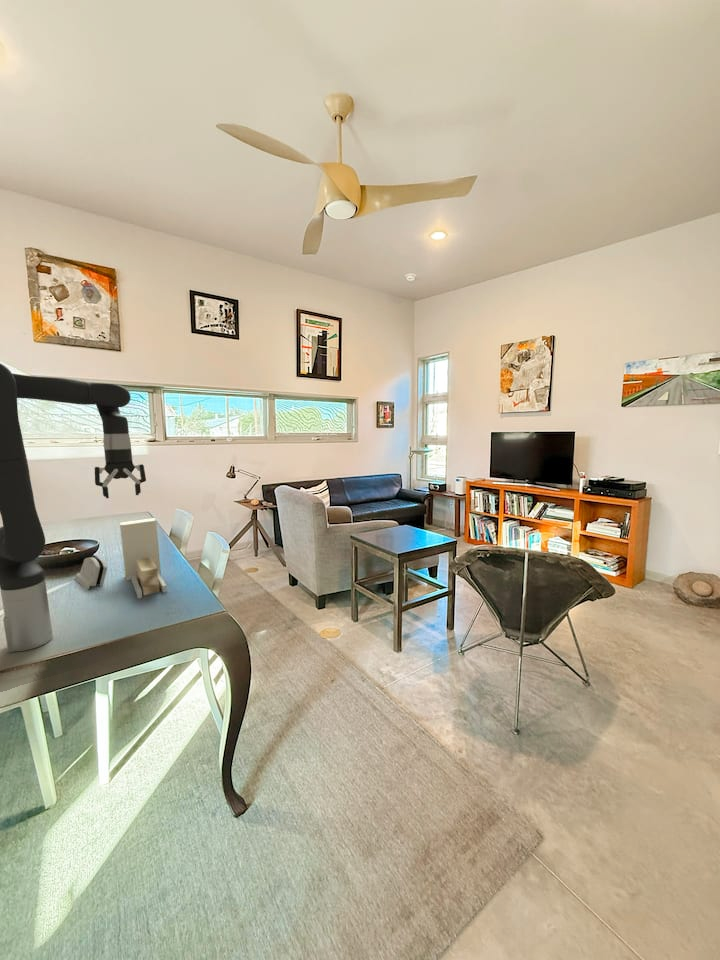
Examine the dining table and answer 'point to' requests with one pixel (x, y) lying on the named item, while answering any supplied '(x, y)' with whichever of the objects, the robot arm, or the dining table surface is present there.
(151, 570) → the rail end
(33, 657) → the dining table surface
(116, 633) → the dining table surface
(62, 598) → the dining table surface
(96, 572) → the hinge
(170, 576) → the dining table surface
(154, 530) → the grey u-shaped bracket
